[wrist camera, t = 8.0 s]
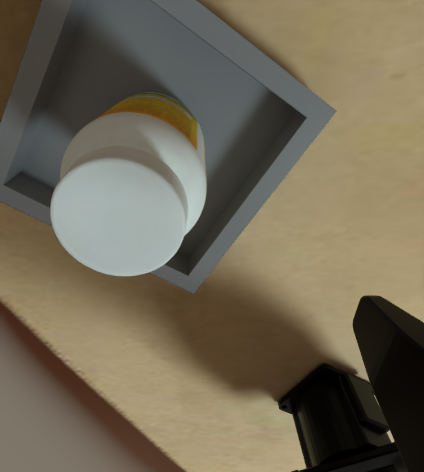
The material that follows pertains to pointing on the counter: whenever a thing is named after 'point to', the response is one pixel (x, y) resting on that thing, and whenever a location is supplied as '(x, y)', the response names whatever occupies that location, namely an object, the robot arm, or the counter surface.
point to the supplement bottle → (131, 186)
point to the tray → (164, 82)
